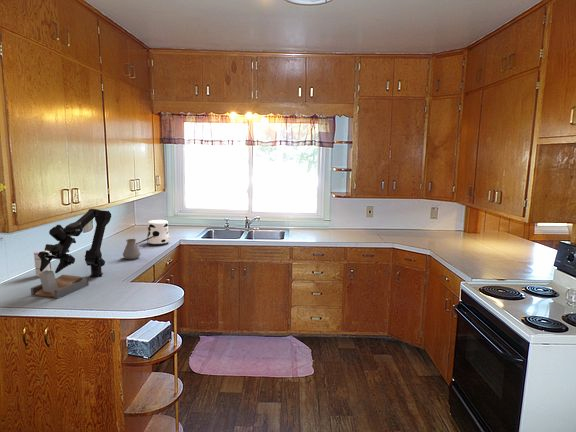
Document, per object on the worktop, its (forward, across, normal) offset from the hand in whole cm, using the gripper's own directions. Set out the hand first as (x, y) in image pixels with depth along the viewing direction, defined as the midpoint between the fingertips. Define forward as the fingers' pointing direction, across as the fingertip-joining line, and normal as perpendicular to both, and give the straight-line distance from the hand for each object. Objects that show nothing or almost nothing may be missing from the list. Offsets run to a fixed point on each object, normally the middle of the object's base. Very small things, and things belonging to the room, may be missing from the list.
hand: (48, 272), depth 203 cm
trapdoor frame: (+3, 0, +14) cm, 14 cm away
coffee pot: (-45, 0, +63) cm, 77 cm away
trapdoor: (+4, 0, +13) cm, 14 cm away
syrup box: (-9, -28, +26) cm, 39 cm away
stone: (+6, 0, +8) cm, 10 cm away
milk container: (-74, -11, +92) cm, 119 cm away
